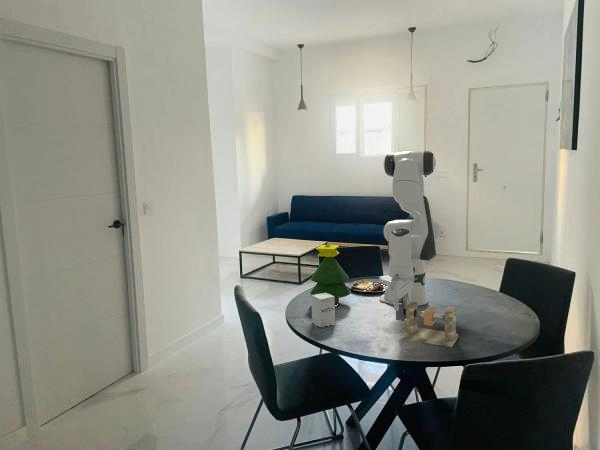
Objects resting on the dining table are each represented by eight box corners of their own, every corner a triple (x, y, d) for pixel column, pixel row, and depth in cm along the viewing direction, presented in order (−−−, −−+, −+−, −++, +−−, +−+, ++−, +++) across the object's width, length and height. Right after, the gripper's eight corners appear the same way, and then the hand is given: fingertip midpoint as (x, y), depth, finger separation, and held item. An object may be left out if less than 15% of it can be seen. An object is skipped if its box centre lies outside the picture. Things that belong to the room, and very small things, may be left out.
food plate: (382, 297, 229) (382, 290, 228) (340, 292, 241) (340, 286, 241) (400, 286, 250) (400, 279, 249) (360, 281, 262) (360, 275, 262)
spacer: (424, 324, 175) (423, 311, 175) (428, 320, 180) (428, 306, 179) (432, 326, 174) (431, 312, 173) (435, 321, 178) (435, 307, 178)
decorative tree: (355, 300, 227) (354, 239, 223) (345, 313, 210) (343, 247, 205) (318, 297, 234) (316, 238, 230) (305, 309, 217) (302, 246, 212)
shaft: (395, 319, 182) (395, 295, 180) (399, 316, 185) (399, 292, 184) (453, 328, 170) (454, 302, 169) (456, 325, 174) (456, 299, 172)
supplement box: (320, 329, 192) (319, 299, 190) (311, 323, 199) (310, 294, 197) (335, 325, 195) (334, 296, 194) (326, 320, 202) (325, 291, 200)
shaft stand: (403, 339, 178) (403, 307, 176) (411, 330, 187) (411, 299, 185) (451, 347, 169) (452, 314, 167) (458, 337, 177) (458, 305, 175)
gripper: (399, 278, 169) (400, 315, 171) (416, 266, 187) (417, 300, 189) (383, 277, 173) (383, 313, 175) (401, 265, 190) (401, 298, 192)
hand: (401, 306), depth 182 cm, fingers open, 8 cm apart
